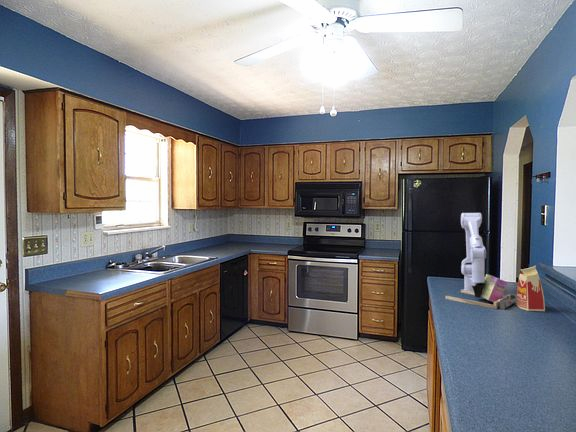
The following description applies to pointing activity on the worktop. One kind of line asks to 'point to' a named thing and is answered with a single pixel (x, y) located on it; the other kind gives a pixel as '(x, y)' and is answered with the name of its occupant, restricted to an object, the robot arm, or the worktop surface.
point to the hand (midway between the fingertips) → (477, 297)
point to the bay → (501, 303)
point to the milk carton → (530, 291)
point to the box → (493, 288)
